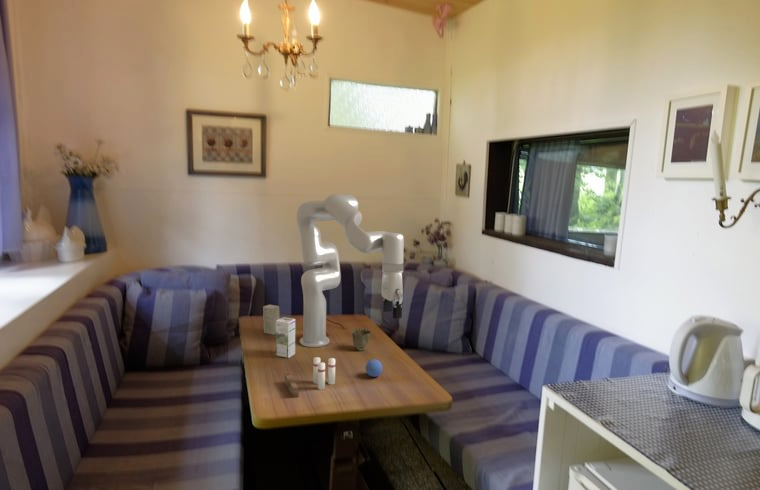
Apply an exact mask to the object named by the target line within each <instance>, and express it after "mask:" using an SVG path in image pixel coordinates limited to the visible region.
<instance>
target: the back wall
mask: <svg viewBox="0 0 760 490" xmlns="http://www.w3.org/2000/svg"><path fill="white" fill-rule="evenodd" d="M284 384H285V386H286V387H287V389H288V391H289V392H290V394H291V395H292V396H293V398H299V396H300V395H299V392H300V391H299V386H298V385H297V384H296V381H295V380H294V379H293V378H292V376H291V375H290V373H284Z"/></svg>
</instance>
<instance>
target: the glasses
mask: <svg viewBox="0 0 760 490" xmlns="http://www.w3.org/2000/svg"><path fill="white" fill-rule="evenodd" d="M327 321H328V322H330V323H331V324H334V325H338V326H340V327H341V328H342V329H343V330H346V327H344V326H343V325H342V324H341V323H340V322H335V321H333V320H331V319H328V318H326V322H327ZM329 336H330V334H329V333H328V332H327V331H326V337H329Z"/></svg>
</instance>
